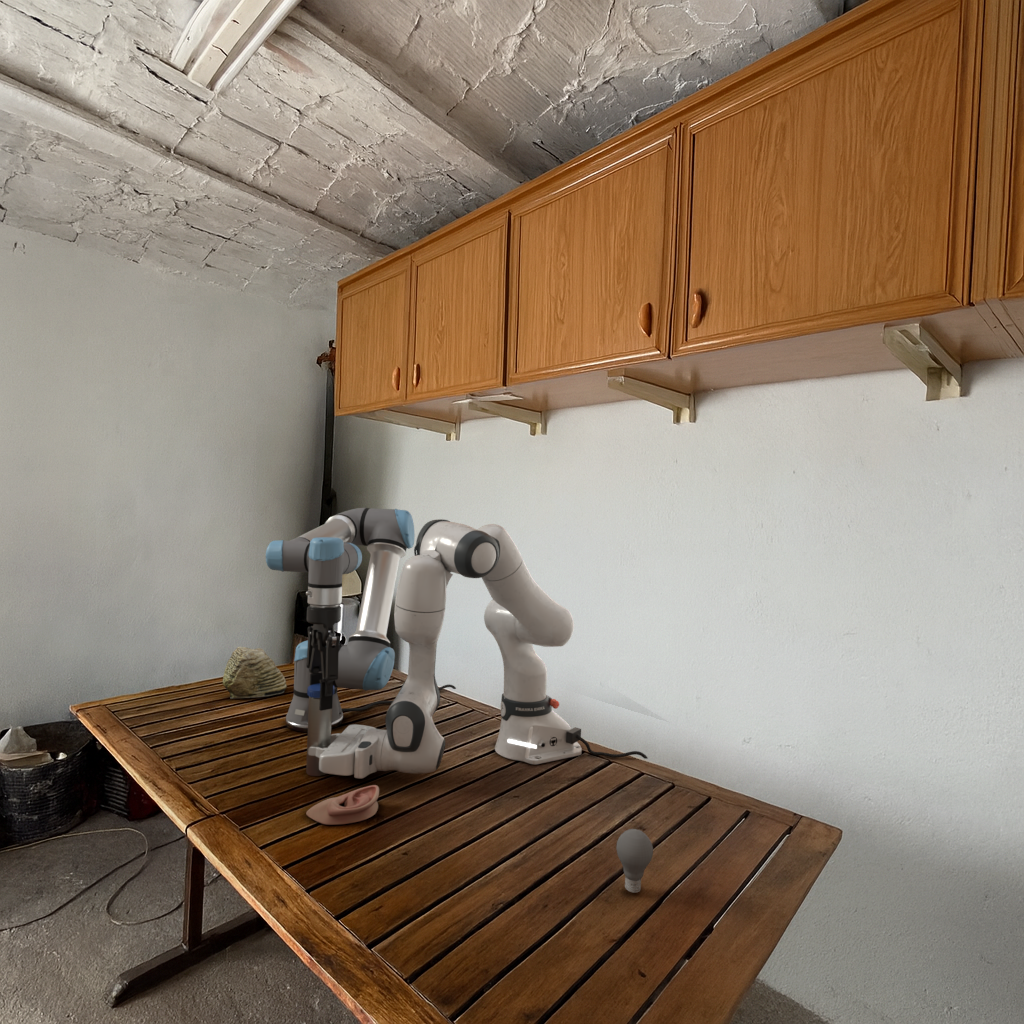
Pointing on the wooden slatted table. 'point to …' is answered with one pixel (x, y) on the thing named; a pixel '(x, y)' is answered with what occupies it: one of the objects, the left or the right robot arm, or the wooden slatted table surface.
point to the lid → (315, 690)
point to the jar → (317, 733)
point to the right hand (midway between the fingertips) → (315, 744)
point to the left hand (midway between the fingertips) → (320, 704)
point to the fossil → (252, 674)
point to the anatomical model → (347, 807)
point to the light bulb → (634, 857)
